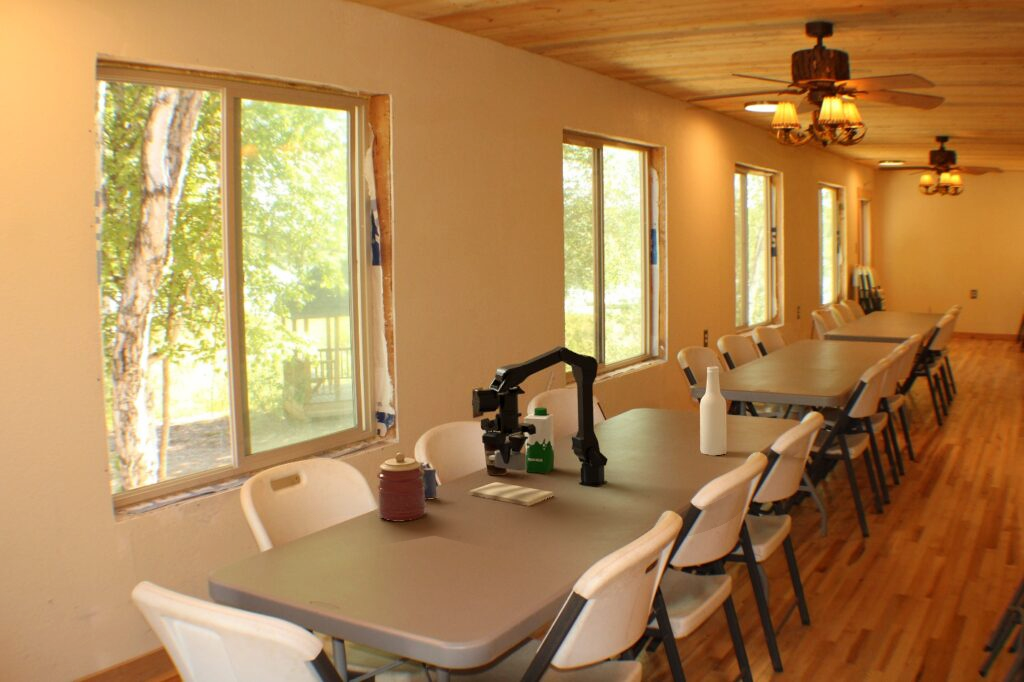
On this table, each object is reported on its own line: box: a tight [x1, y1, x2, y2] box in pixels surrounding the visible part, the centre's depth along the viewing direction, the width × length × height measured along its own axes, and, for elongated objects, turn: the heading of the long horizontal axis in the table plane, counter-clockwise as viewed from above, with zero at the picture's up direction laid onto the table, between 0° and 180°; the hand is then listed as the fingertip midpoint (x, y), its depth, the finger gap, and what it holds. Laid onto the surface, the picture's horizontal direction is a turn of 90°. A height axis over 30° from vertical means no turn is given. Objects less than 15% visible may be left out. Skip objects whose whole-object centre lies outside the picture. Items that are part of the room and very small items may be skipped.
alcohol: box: [699, 365, 728, 455], centre depth 320 cm, size 9×9×30 cm
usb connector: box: [489, 450, 526, 471], centre depth 275 cm, size 13×4×4 cm, turn 52°
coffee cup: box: [483, 443, 508, 476], centre depth 302 cm, size 9×8×13 cm
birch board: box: [469, 481, 554, 507], centre depth 276 cm, size 22×12×1 cm, turn 52°
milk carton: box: [523, 407, 555, 474], centre depth 304 cm, size 9×9×20 cm
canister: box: [376, 452, 427, 521], centre depth 258 cm, size 13×13×18 cm
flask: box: [420, 461, 437, 498], centre depth 276 cm, size 9×3×11 cm, turn 68°
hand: (510, 462), depth 275 cm, fingers closed on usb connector, 4 cm apart
